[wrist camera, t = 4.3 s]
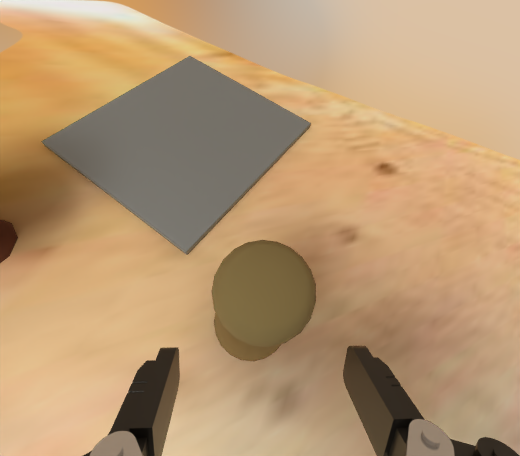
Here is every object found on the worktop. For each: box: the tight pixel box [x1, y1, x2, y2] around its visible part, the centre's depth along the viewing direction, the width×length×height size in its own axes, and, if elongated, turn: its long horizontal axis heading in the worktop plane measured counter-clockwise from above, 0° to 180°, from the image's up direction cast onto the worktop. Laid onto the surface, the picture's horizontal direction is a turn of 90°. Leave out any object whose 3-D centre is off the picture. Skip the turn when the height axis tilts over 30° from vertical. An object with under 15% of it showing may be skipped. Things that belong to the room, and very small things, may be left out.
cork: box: [212, 240, 316, 361], centre depth 17 cm, size 6×6×11 cm
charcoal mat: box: [41, 56, 311, 254], centre depth 30 cm, size 22×20×1 cm
